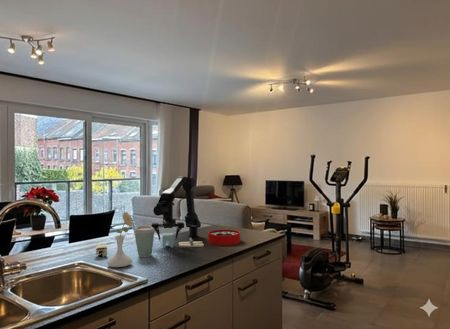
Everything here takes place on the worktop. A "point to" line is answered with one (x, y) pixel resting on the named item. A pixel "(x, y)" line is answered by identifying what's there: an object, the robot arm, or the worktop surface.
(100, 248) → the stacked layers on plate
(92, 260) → the worktop surface
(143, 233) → the disposable coffee cup
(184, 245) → the cleat board
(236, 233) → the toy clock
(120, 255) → the flower in vase
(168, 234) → the block
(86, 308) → the worktop surface
